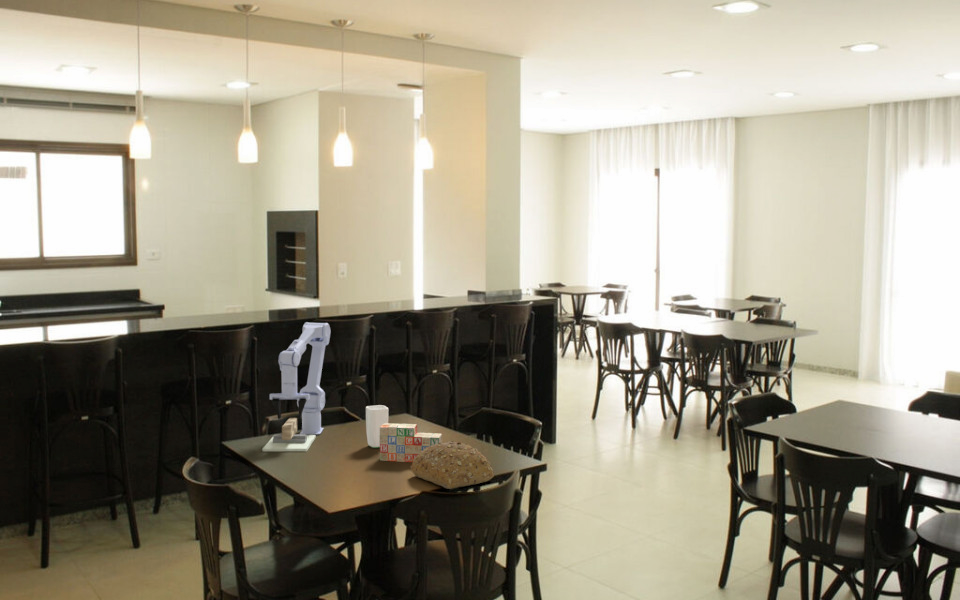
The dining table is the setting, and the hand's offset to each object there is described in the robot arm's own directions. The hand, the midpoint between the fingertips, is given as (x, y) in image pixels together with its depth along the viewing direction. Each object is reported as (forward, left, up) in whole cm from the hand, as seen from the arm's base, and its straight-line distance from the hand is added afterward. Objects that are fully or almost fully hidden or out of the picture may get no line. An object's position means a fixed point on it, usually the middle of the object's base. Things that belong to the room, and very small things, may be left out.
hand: (289, 418), depth 305 cm
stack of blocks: (+21, +46, -10) cm, 52 cm away
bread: (+44, +61, -10) cm, 76 cm away
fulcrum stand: (0, 0, -10) cm, 10 cm away
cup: (+3, +33, -10) cm, 35 cm away
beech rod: (0, 0, -6) cm, 6 cm away
